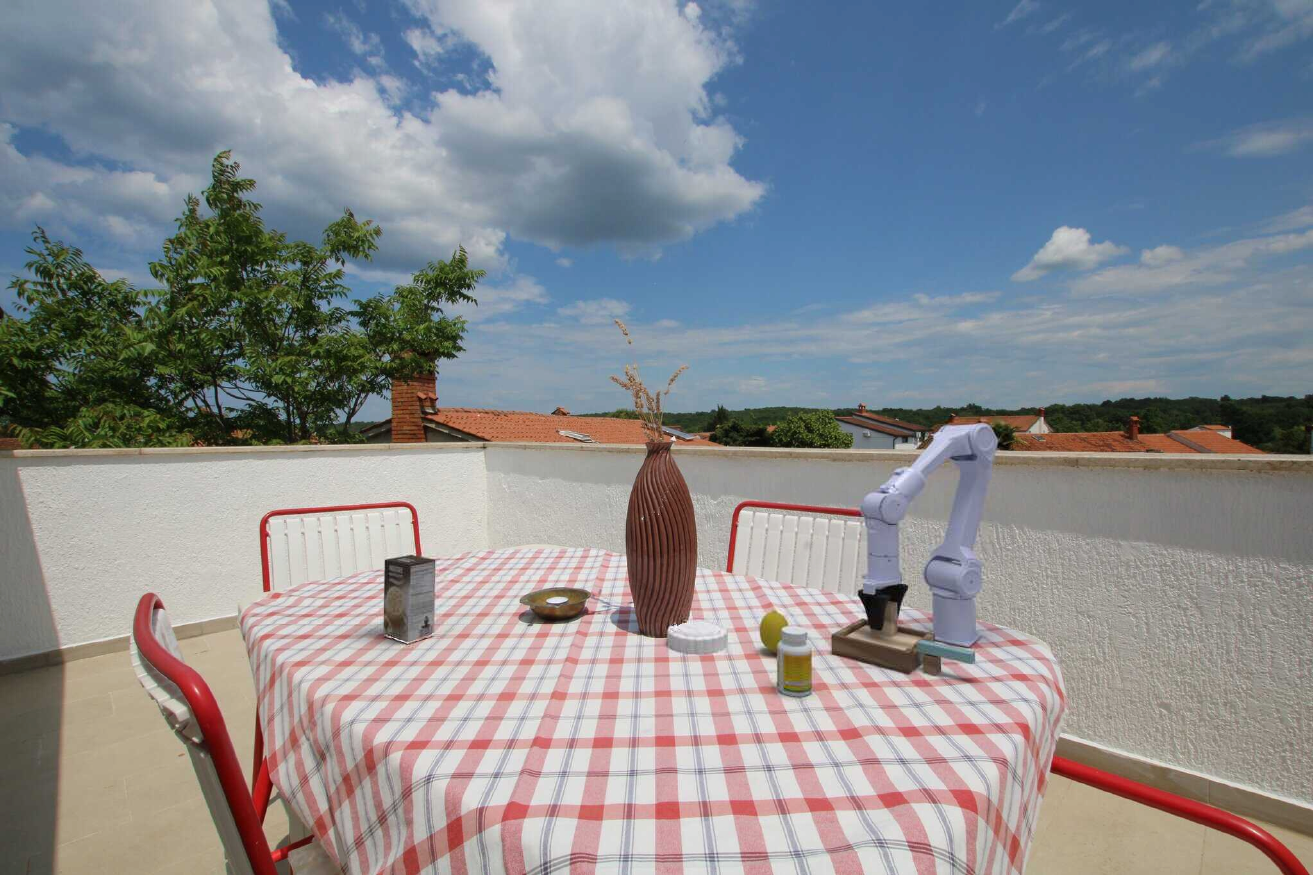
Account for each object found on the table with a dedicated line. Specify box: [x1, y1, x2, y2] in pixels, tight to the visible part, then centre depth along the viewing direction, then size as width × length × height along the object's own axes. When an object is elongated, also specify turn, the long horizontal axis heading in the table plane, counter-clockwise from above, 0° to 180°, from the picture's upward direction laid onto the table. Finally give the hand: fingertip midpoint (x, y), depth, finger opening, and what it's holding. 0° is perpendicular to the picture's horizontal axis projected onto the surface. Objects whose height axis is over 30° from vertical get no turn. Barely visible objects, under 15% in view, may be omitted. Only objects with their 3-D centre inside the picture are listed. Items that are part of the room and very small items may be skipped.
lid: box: [847, 601, 923, 650], centre depth 103 cm, size 11×11×7 cm
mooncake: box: [666, 619, 729, 656], centre depth 109 cm, size 12×12×4 cm
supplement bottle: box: [776, 625, 813, 698], centre depth 87 cm, size 5×5×10 cm
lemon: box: [759, 610, 790, 654], centre depth 103 cm, size 6×6×8 cm
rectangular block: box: [917, 640, 976, 665], centre depth 93 cm, size 2×8×2 cm, turn 46°
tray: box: [830, 618, 942, 677], centre depth 102 cm, size 14×18×4 cm
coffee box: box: [382, 554, 436, 642], centre depth 113 cm, size 9×6×16 cm
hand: (883, 624), depth 106 cm, fingers open, 7 cm apart
